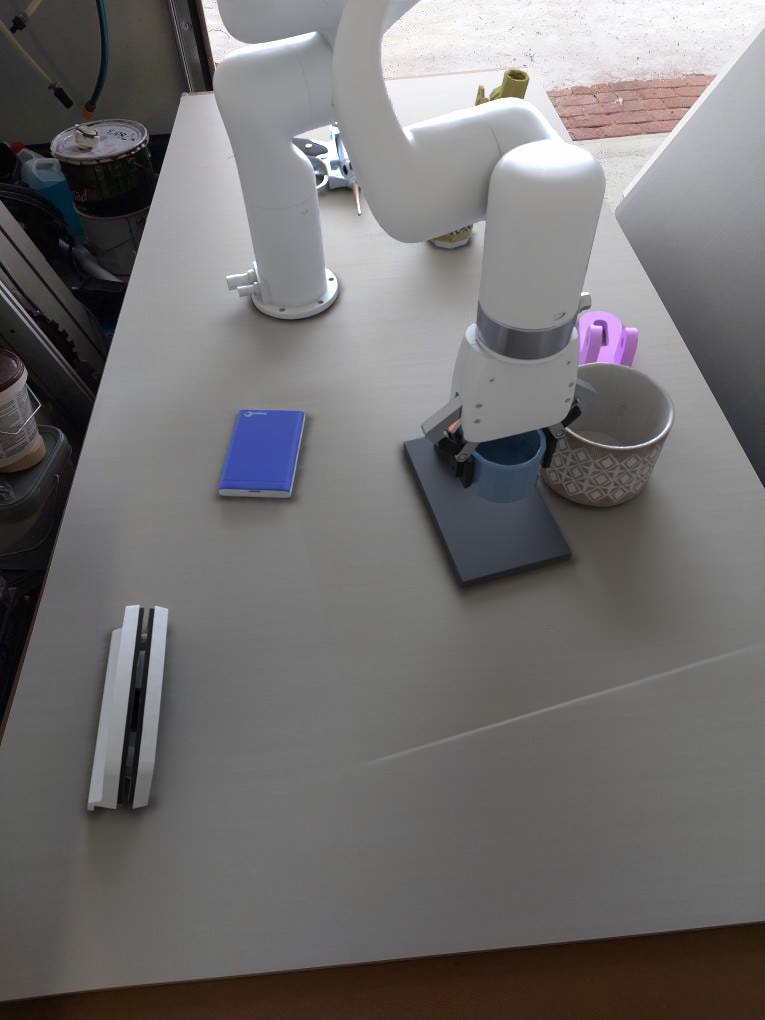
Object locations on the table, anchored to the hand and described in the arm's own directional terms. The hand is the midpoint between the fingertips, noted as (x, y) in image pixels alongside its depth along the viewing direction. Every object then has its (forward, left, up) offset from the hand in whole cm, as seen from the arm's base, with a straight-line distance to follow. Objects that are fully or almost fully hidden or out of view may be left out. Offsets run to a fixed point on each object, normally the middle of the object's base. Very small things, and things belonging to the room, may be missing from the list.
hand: (501, 466), depth 68 cm
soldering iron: (-1, +77, -10) cm, 78 cm away
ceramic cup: (+15, +55, -10) cm, 58 cm away
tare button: (0, +11, -7) cm, 13 cm away
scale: (0, +3, -9) cm, 10 cm away
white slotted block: (-38, -11, -10) cm, 41 cm away
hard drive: (-22, +17, -10) cm, 29 cm away
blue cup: (0, 0, -1) cm, 1 cm away
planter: (+13, +4, -10) cm, 17 cm away
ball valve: (+34, +84, -10) cm, 91 cm away
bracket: (+24, +22, -10) cm, 34 cm away
